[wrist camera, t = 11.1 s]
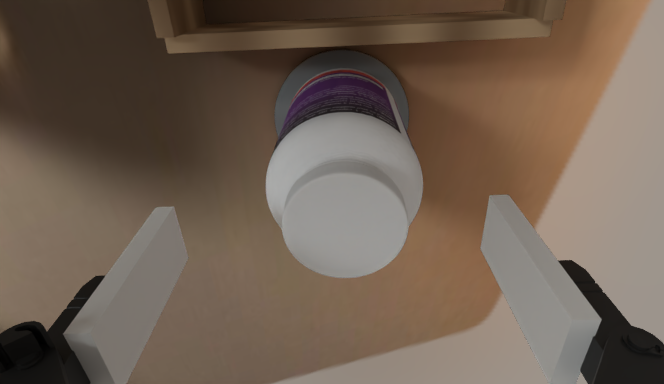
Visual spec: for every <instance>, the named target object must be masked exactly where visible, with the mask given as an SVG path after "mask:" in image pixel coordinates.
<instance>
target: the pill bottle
mask: <svg viewBox="0 0 664 384" xmlns="http://www.w3.org/2000/svg"><path fill="white" fill-rule="evenodd" d="M422 194H423V176H422V170H421V166H420V163H419V160H418V157H417V155H416V153H415V150H414V148H413V146H412V143H411V141H410V138H409V136H408V133H407V131H406V128H405V126H404V123H403V121H402V118H401V115H400V113H399V110H398V107H397V105H396V102H395V100H394V98H393V97H392V95H391V93H390V92H389V90H388V89H387V88H386V87H385V85H384V84H382V83H381V82H380V81H379V80H378V79H376V78H375V77H373V76H372V75H370V74H368V73H366V72H363V71H360V70H356V69H350V68H338V69H331V70H327V71H324V72H322V73H320V74H317V75H316V76H314V77H312V78H311V79H309V80H308V81H307V82H306V83H305V84H304V85H303V86H302V87H301V88H300V89H299V91H298V92H297V93H296V95H295V97H294V98H293V100H292V102H291V104H290V107H289V110H288V113H287V116H286V118H285V121H284V124H283V127H282V130H281V132H280V135H279V138H278V141H277V143H276V146H275V149H274V151H273V154H272V156H271V159H270V162H269V166H268V169H267V175H266V196H267V202H268V205H269V208H270V210H271V213H272V215H273V217H274V219H275V221H276V222H277V224H278V225H279V226H280V228H281V229H282V233H283V237H284V240H285V243H286V245H287V247H288V249H289V251H290V252H291V253H292V255H293V256H294V257H295V258H296V259H297V260H298V261H299V262H300V263H301V264H303V265H304V266H306V267H307V268H309V269H310V270H312V271H314V272H317V273H320V274H322V275H326V276H330V277H336V278H355V277H360V276H365V275H368V274H371V273H373V272H376V271H378V270H380V269H381V268H383V267H385V266H386V265H388V264H389V263H390V262H391V261H392V260H393V259H394V258H395V257H396V256H397V255H398V254H399V252H400V251H401V249H402V247H403V245H404V244H405V241H406V238H407V234H408V226H409V225H410V224H411V223H412V221H413V219H414V218H415V216H416V214H417V212H418V209H419V206H420V203H421V199H422Z"/></svg>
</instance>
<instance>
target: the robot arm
mask: <svg viewBox="0 0 664 384" xmlns="http://www.w3.org/2000/svg"><path fill="white" fill-rule="evenodd" d="M480 249H481V251H482V253H483V255H484V257H485V259H486V261H487V263H488V265H489V267H490V269H491V271H492V273H493V275H494V277H495V279H496V281H497V283H498V285H499V287H500V288H501V290H502V292H503V294H504V296H505V298H506V300H507V302H508V304H509V306H510V308H511V310H512V312H513V314H514V316H515V318H516V320H517V322H518V324H519V326H520V328H521V330H522V332H523V334H524V336H525V338H526V340H527V342H528V344H529V346H530V348H531V350H532V352H533V354H534V356H535V358H536V360H537V362H538V363H539V365H540V367H541V369H542V371H543V373H544V375H545V377H546V379H547V381H548V383H549V384H576V382H577V379H578V377H579V375H580V372H581V373H582V374H583V376H584V378H585V379H586V381H587V383H588V384H664V344H663V343H662V342H661V341H660V340H659V339H658V338H656V337H655V336H654V335H653V334H651V333H649V332H647V331H645V330H643V329H640V328H637V327H634V326H631V325H630V324H629V322H628V321H627V320H626V319H625V317H624V316H623V315H622V314H621V312H620V311H619V310H618V309H617V308H616V306H615V305H614V304H613V303H612V301H611V300H610V299H609V298H608V297H607V296H606V294H605V293H603V292H602V289H601V288H600V287H599V285H598V284H596V283H595V281H594V279H593V278H592V277H591V276H590V274H589V273H588V272H587V271H586V270H585V269H584V268H582V267H581V266H579V265H578V264H576V263H575V262H573V261H572V260H563V261H558V260H557V259H556V258H555V256H554V255H553V254H552V252H551V251H550V250H549V248H548V247H547V246H546V244H545V243H544V242H543V240H542V239H541V238H540V236H539V235H538V234H537V232H536V231H535V229H534V228H533V227H532V225H531V224H530V223H529V221H528V220H527V219H526V217H525V216H524V215H523V213H522V212H521V211H520V209H519V208H518V207H517V205H516V204H515V203H514V201H513V200H512V199H511V197H510V196H509V195H490V196H489V202H488V207H487V213H486V219H485V225H484V231H483V237H482V242H481V248H480ZM187 260H188V255H187V251H186V248H185V244H184V240H183V237H182V233H181V230H180V226H179V223H178V219H177V216H176V212H175V209H174V207H156V208H155V209H154V210H153V212H152V213H151V215H150V216H149V217H148V219H147V220H146V221H145V223H144V224H143V226H142V227H141V228H140V230H139V231H138V232H137V234H136V235H135V236H134V238H133V239H132V241H131V242H130V243H129V245H128V246H127V247H126V249H125V250H124V251H123V253H122V254H121V256H120V257H119V258H118V260H117V261H116V262H115V264H114V265H113V266H112V268H111V269H110V271H109V272H108V273H107V275H106V276H95V277H94V278H93V279H91V280H90V281H89V282H88V283H86V284H85V285H84V286H82V288H81V289H80V290H79V292H78V293H77V294H76V295H75V297H74V300H72V301H71V302H70V303H69V304H68V306H67V309H65V310H64V311H63V312H62V313H61V315H60V316H59V317H58V319H57V320H56V321H55V322H54V324H53V325H52V326H51V328H50V329H49V330H48V331H46V330H45V328H44V326H43V325H42V324H41V323H39V322H35V321H31V322H24V323H21V324H18V325H15V326H13V327H11V328H9V329H7V330H5V331H4V332H2V333H1V334H0V384H126V383H127V381H128V379H129V377H130V375H131V373H132V371H133V369H134V367H135V365H136V363H137V361H138V359H139V357H140V355H141V353H142V351H143V349H144V347H145V345H146V343H147V341H148V339H149V337H150V335H151V333H152V331H153V329H154V327H155V325H156V323H157V321H158V319H159V317H160V315H161V313H162V311H163V309H164V307H165V305H166V303H167V301H168V299H169V297H170V294H171V292H172V290H173V288H174V286H175V284H176V282H177V280H178V278H179V276H180V274H181V272H182V270H183V268H184V266H185V264H186V262H187Z"/></svg>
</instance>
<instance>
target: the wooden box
mask: <svg viewBox="0 0 664 384" xmlns="http://www.w3.org/2000/svg"><path fill="white" fill-rule="evenodd" d="M148 4H149V8H150V13H151V17H152V21H153V25H154V29H155V33H156V37H157V38H164V39H165V43H166V47H167V52H168V54H171V53H194V52H216V51H239V50H262V49H285V48H307V47H330V46H353V45H376V44H398V43H421V42H444V41H466V40H489V39H512V38H535V37H550V33H551V28H552V23H553V20H562V18H563V13H564V9H565V4H566V0H505V5H504V11H483V12H461V13H440V14H419V15H398V16H376V17H355V18H334V19H313V20H291V21H270V22H249V23H228V24H206V18H205V13H204V7H203V2H202V0H148Z"/></svg>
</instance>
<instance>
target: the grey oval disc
mask: <svg viewBox="0 0 664 384" xmlns="http://www.w3.org/2000/svg"><path fill="white" fill-rule="evenodd" d="M338 68H350V69H356V70H360V71H363V72H366V73H368V74H370V75H372V76H373V77H375V78H376V79H378V80H379V81H380V82H381V83H382V84H384V85H385V87H386V88H387V89H388V90H389V92H390V93H391V95H392V97H393V98H394V100H395V102H396V105H397V107H398V110H399V113H400V115H401V118H402V121H403V123H404V126H405V128H406V131H407V128H408V122H409V108H408V102H407V98H406V95H405V92H404V90H403V88H402V86H401V84H400V82H399V80H398V79H397V77H396V76H395V75H394V73H393V72H392V71H391V70H390V69H389V68H388V67H387V66H386V65H385V64H383V63H382V62H381V61H379V60H378V59H376V58H374V57H372V56H370V55H368V54H366V53H362V52H359V51H354V50H347V49H337V50H329V51H325V52H321V53H319V54H316V55H314V56H311V57H310V58H308V59H306V60H305V61H303V62H302V63H301V64H299V65H298V66H297V67H296V68H295V69H294V70H293V71H292V72H291V73H290V74H289V76H288V77H287V78H286V80H285V82H284V83H283V85H282V87H281V89H280V91H279V94H278V97H277V101H276V105H275V126H276V131H277V134H278V137H279V135H280V132H281V130H282V127H283V124H284V121H285V118H286V116H287V113H288V110H289V107H290V104H291V102H292V100H293V98H294V97H295V95H296V93H297V92H298V91H299V89H300V88H301V87H302V86H303V85H304V84H305V83H306V82H307V81H308V80H309V79H311V78H312V77H314V76H316V75H317V74H320V73H322V72H324V71H327V70H331V69H338Z"/></svg>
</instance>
